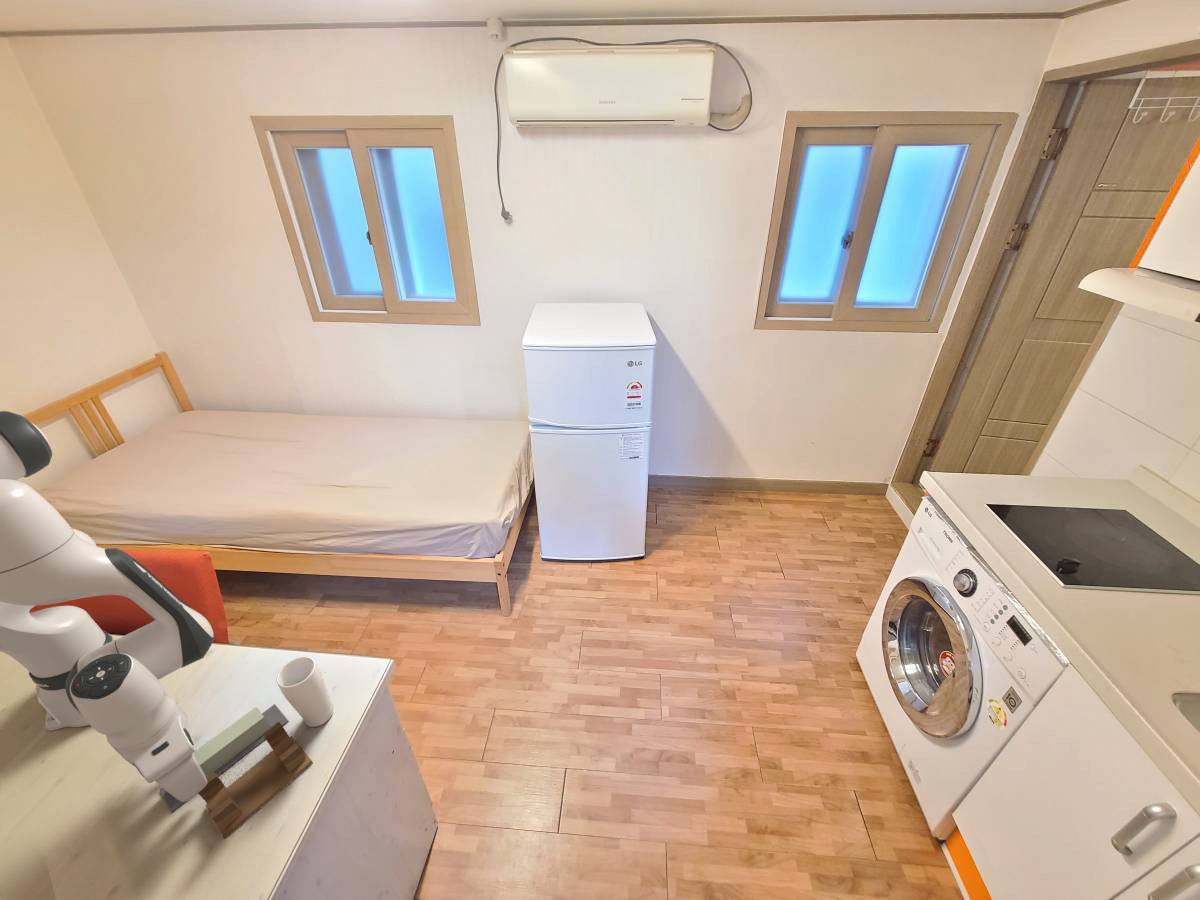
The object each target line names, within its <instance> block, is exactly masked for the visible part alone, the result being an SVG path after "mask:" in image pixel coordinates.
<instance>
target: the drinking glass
mask: <svg viewBox="0 0 1200 900" xmlns="http://www.w3.org/2000/svg"><path fill="white" fill-rule="evenodd" d="M276 685H277V686H278V688H279V690H280V692H281V693H282V695H283V696H284V698H285V699H286V701H288V703H289V704H290V705H291V707H293V709H294V710H295V711H296V712H297V713H298V714H299V716H300V717H301V719H302V720H303V721H304V722H305V724H306V725H307V726H309V727H311V728H317V727H320V726H322V725H324V724H325V723H326V722H328V721H329V720H330V718H331V717H332V715H333V714H334V704H333V703H332V701H331V698H330V695H329V692H328V689H327V686H326V683H325V681H324V678H323V674H322V672H321V670H320V668H319V666H318V664H317V663H316V661H315V660H314V658H312V657H310V656H300V657H296V658H294V659H292V660H290V661H288V662H287V663H286V664H284V665H283V666H282V667H281V669H280V670H279V671H278V673H277V676H276Z"/></svg>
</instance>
